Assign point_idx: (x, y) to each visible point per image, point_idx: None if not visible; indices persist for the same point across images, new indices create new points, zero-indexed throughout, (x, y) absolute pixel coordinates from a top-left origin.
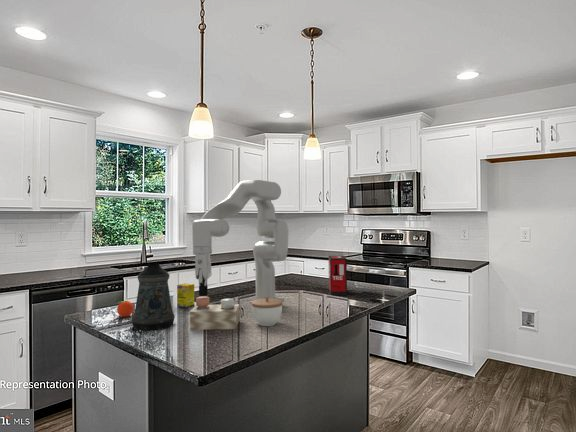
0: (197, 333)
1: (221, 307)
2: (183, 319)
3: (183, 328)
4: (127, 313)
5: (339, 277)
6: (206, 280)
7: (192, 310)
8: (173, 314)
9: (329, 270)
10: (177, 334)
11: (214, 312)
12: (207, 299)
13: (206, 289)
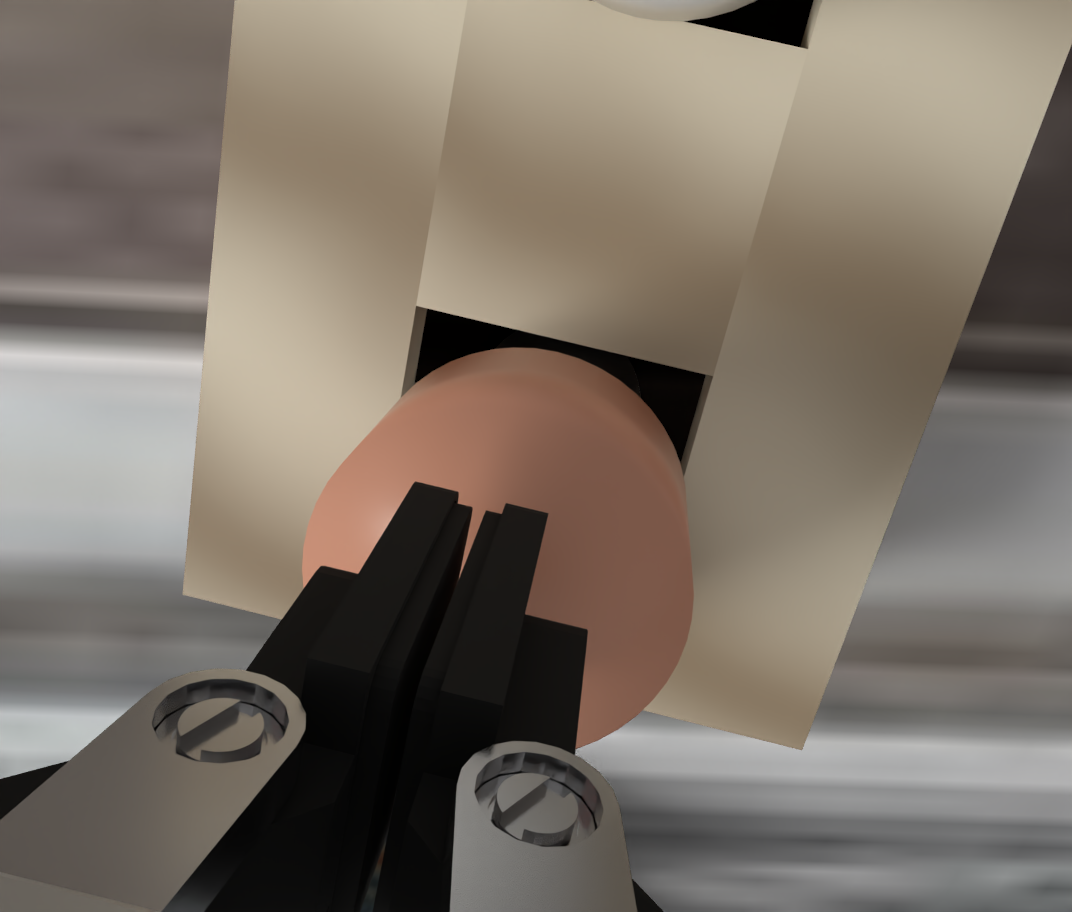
0: (1016, 479)
1: (733, 10)
2: (155, 635)
3: None
4: None
5: None
6: (187, 888)
7: (701, 692)
8: (379, 872)
9: None
10: (943, 736)
11: (990, 225)
12: (638, 456)
13: (518, 627)
